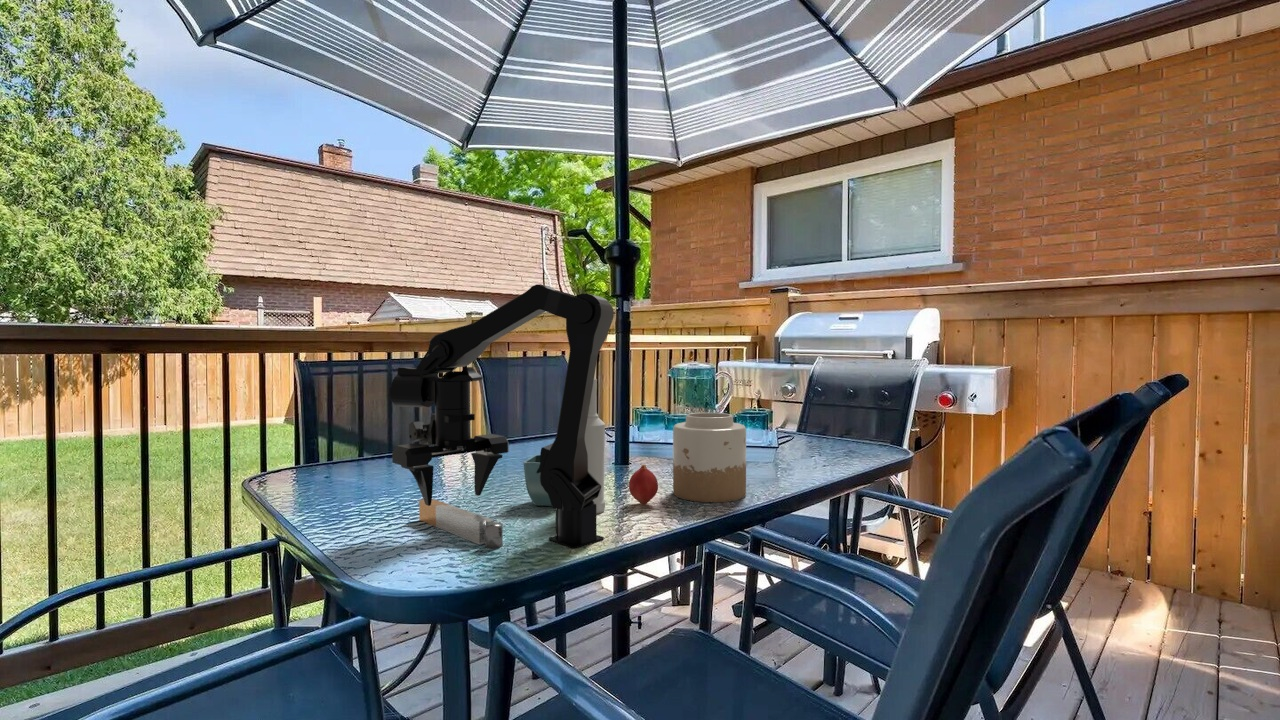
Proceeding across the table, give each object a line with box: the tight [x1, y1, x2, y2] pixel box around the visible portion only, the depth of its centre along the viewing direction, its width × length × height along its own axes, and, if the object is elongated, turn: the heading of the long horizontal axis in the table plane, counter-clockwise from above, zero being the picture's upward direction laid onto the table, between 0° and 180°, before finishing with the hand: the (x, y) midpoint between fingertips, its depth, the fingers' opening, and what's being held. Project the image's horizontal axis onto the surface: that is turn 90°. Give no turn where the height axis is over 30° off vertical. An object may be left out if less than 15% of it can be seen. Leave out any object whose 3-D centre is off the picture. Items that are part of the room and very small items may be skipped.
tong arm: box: [418, 498, 486, 546], centre depth 104 cm, size 20×1×4 cm, turn 46°
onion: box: [628, 464, 659, 506], centre depth 122 cm, size 6×6×8 cm
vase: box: [672, 412, 747, 503], centre depth 131 cm, size 15×15×17 cm
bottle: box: [585, 378, 606, 515], centre depth 117 cm, size 5×5×25 cm
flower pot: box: [523, 454, 552, 507], centre depth 123 cm, size 9×9×9 cm
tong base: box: [432, 498, 504, 550], centre depth 104 cm, size 23×3×4 cm, turn 46°
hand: (453, 500), depth 105 cm, fingers open, 9 cm apart
